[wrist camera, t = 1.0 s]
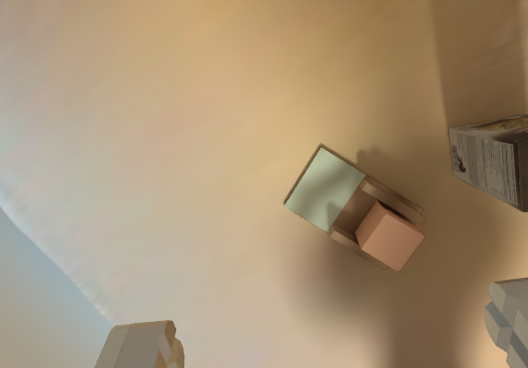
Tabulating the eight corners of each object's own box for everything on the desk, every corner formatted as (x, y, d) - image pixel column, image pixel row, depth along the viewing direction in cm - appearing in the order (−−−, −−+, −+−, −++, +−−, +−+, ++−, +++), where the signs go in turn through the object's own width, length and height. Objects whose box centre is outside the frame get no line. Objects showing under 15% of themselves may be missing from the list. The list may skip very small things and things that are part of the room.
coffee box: (527, 111, 45) (644, 115, 29) (531, 165, 46) (646, 196, 30) (446, 126, 46) (516, 138, 31) (452, 178, 48) (523, 215, 32)
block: (410, 220, 49) (424, 236, 43) (388, 252, 50) (398, 271, 44) (377, 200, 48) (386, 213, 43) (354, 232, 50) (361, 249, 44)
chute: (422, 208, 49) (431, 216, 45) (381, 264, 51) (386, 275, 47) (321, 147, 49) (322, 150, 45) (284, 205, 51) (282, 213, 47)
